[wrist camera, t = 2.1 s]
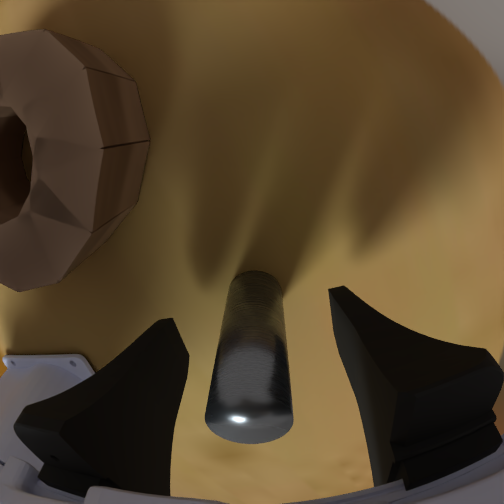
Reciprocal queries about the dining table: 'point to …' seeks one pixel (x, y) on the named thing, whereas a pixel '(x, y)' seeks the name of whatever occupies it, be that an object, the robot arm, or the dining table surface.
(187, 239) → the dining table surface
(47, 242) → the bead
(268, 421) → the dark grey capsule
